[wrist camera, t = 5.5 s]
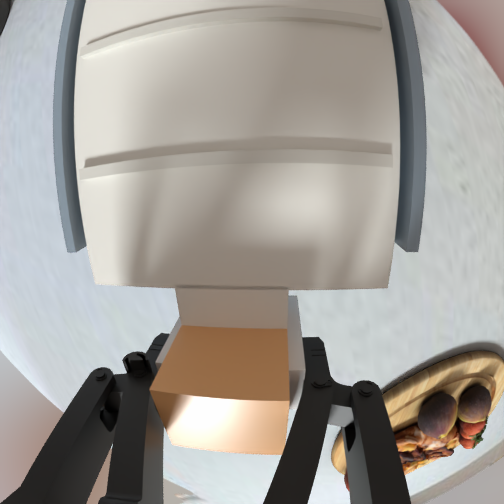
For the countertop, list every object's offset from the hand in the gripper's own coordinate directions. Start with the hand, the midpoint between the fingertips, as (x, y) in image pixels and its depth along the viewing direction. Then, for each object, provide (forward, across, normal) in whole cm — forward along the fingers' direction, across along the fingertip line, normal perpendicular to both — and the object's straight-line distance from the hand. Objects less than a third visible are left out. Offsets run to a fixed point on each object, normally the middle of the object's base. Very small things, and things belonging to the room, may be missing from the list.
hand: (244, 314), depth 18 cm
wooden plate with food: (+8, +27, -28) cm, 40 cm away
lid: (-2, 0, +10) cm, 10 cm away
